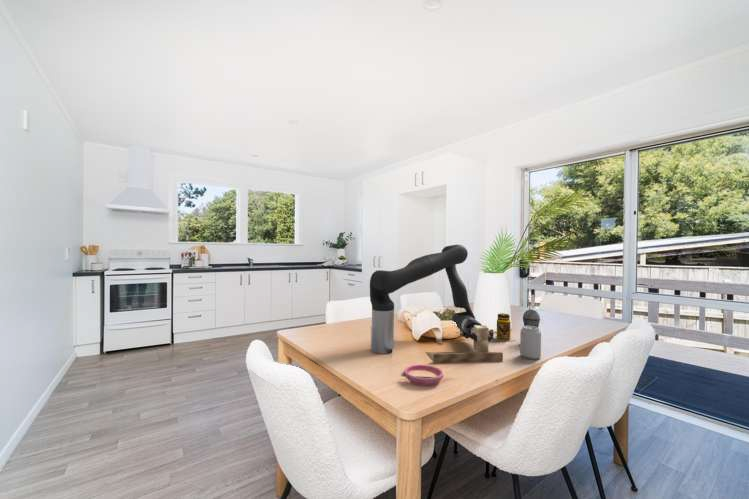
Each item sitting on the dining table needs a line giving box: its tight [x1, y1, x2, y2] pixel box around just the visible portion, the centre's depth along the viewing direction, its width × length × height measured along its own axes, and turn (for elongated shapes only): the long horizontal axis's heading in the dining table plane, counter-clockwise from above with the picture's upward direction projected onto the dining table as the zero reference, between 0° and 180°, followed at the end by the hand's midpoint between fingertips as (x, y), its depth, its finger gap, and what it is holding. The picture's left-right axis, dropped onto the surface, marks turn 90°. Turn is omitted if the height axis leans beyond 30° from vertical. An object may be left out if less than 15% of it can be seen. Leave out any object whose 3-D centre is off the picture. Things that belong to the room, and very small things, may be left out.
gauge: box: [473, 324, 490, 352], centre depth 125 cm, size 4×7×10 cm
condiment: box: [493, 312, 514, 342], centre depth 156 cm, size 7×8×12 cm
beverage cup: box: [522, 299, 541, 328], centre depth 148 cm, size 7×7×20 cm
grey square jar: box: [519, 325, 542, 360], centre depth 130 cm, size 8×8×12 cm
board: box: [425, 350, 504, 364], centre depth 125 cm, size 26×12×4 cm, turn 97°
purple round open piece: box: [404, 364, 444, 387], centre depth 106 cm, size 12×12×3 cm
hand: (483, 339), depth 123 cm, fingers closed on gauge, 4 cm apart
